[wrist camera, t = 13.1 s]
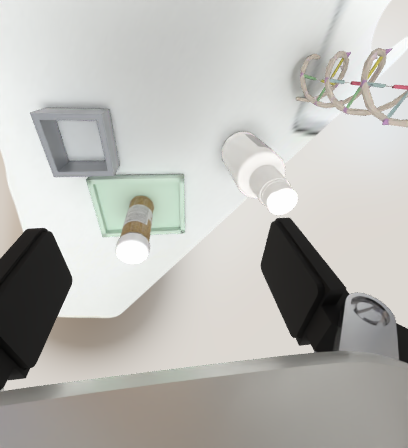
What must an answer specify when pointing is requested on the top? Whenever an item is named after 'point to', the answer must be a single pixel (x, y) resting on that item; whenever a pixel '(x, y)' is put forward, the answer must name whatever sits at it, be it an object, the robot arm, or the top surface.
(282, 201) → the white bottle
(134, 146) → the top surface
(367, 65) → the dna model
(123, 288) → the top surface
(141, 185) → the tray
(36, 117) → the holder
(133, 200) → the sprinkles bottle
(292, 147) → the top surface
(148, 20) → the top surface
